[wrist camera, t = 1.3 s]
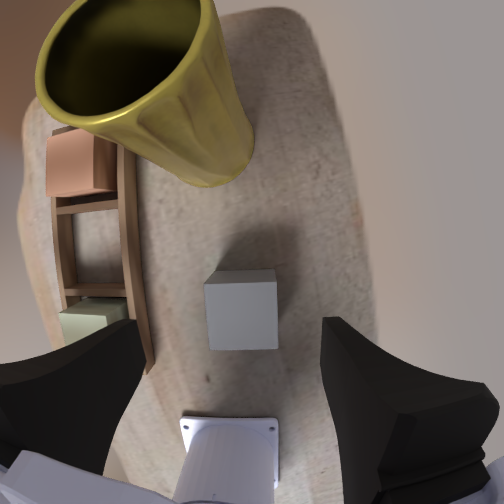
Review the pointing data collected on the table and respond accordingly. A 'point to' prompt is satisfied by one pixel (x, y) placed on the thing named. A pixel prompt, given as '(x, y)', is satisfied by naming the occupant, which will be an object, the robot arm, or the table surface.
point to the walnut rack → (86, 184)
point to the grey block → (242, 310)
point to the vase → (149, 84)
